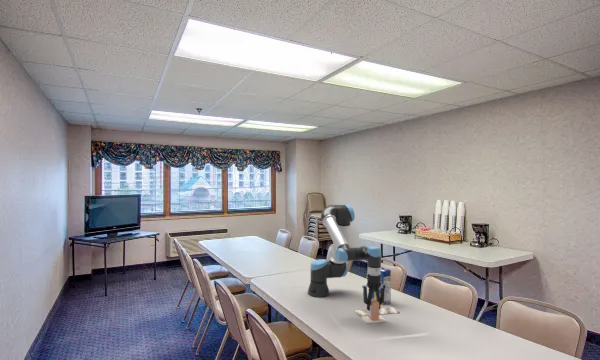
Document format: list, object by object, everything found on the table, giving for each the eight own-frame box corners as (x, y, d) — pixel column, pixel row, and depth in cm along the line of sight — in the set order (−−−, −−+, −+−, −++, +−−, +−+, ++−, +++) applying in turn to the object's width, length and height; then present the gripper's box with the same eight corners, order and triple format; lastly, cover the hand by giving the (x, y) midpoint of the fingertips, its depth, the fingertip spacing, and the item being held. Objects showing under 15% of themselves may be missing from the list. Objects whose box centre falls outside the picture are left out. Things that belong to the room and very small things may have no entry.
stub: (366, 323, 179) (366, 303, 179) (361, 318, 186) (361, 299, 186) (386, 321, 182) (386, 302, 182) (380, 316, 189) (380, 297, 189)
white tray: (366, 325, 179) (366, 322, 179) (353, 313, 196) (353, 310, 196) (409, 321, 185) (409, 318, 185) (392, 309, 202) (392, 306, 202)
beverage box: (383, 305, 209) (383, 271, 209) (371, 300, 218) (371, 267, 219) (390, 303, 213) (391, 270, 213) (378, 298, 222) (378, 266, 222)
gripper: (362, 276, 179) (362, 319, 178) (391, 275, 183) (390, 317, 182) (357, 273, 186) (356, 314, 186) (384, 271, 190) (384, 311, 190)
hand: (373, 315), depth 184 cm, fingers closed on stub, 4 cm apart
